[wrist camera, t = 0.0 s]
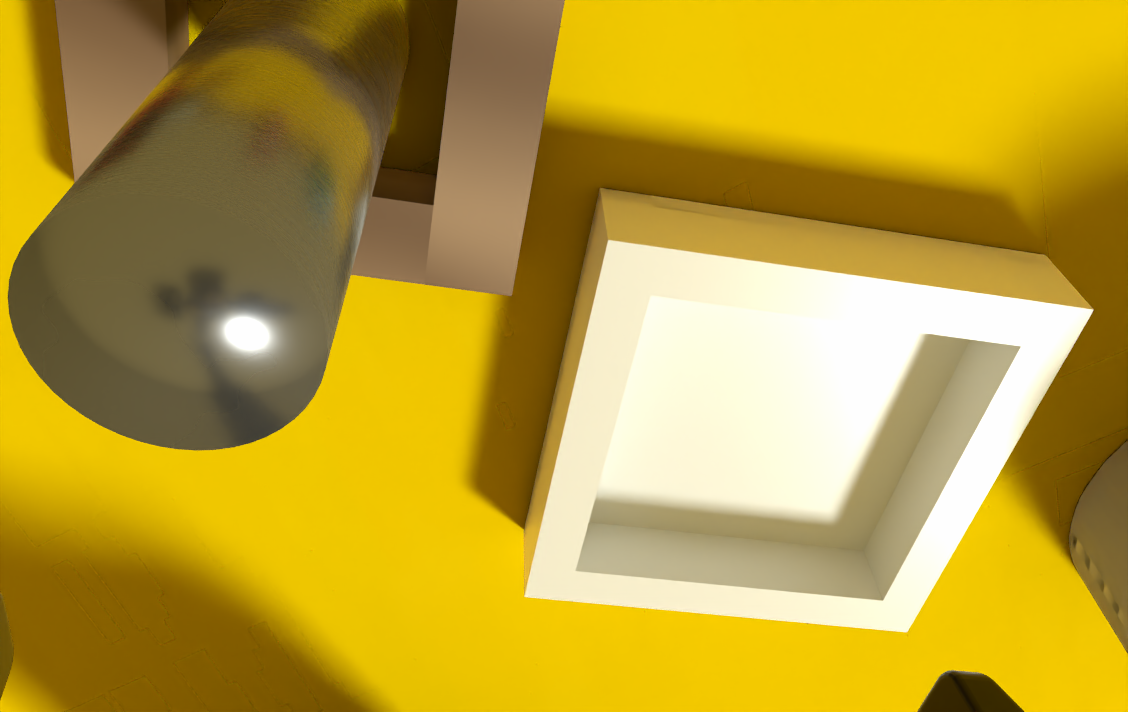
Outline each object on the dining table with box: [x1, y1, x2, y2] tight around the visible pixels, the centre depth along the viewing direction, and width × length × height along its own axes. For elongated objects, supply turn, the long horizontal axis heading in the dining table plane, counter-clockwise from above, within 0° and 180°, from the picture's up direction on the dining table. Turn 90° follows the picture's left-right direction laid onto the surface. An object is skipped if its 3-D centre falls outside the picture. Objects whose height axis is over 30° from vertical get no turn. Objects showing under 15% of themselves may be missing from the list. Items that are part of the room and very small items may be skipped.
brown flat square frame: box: [55, 0, 565, 296], centre depth 20 cm, size 9×9×2 cm
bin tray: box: [524, 188, 1094, 632], centre depth 26 cm, size 11×11×2 cm
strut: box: [8, 0, 410, 450], centre depth 16 cm, size 4×4×11 cm
